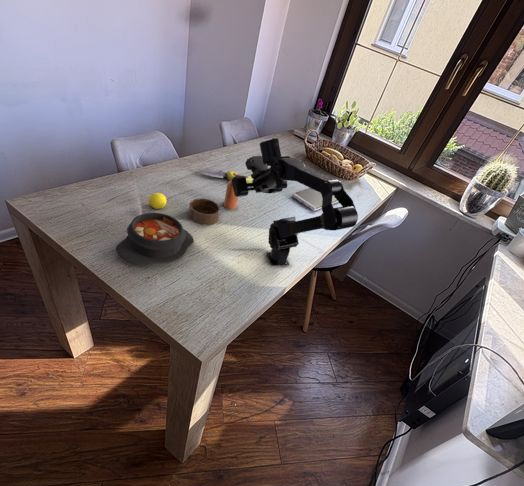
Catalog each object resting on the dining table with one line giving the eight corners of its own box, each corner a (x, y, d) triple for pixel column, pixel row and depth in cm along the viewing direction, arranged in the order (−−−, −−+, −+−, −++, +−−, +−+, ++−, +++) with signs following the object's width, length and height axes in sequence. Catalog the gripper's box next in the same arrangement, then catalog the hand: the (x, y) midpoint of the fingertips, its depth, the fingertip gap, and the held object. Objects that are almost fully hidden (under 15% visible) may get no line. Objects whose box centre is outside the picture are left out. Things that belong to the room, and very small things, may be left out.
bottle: (234, 211, 139) (240, 183, 132) (222, 208, 139) (227, 180, 131) (236, 205, 143) (242, 178, 135) (224, 202, 143) (229, 174, 135)
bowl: (221, 226, 130) (223, 215, 127) (191, 225, 126) (192, 214, 123) (214, 209, 137) (216, 198, 134) (185, 208, 133) (186, 197, 130)
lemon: (153, 213, 126) (154, 200, 122) (144, 206, 128) (144, 192, 125) (170, 209, 131) (171, 195, 127) (161, 201, 133) (161, 188, 129)
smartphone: (290, 196, 159) (292, 193, 158) (326, 185, 176) (327, 181, 174) (313, 212, 154) (315, 208, 152) (347, 198, 170) (349, 195, 169)
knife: (195, 177, 151) (253, 187, 157) (195, 171, 149) (254, 181, 155) (195, 168, 157) (252, 178, 162) (196, 162, 155) (253, 173, 160)
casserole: (167, 222, 125) (168, 200, 119) (206, 250, 119) (209, 228, 113) (102, 247, 108) (99, 223, 102) (143, 281, 102) (143, 258, 96)
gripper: (287, 151, 120) (262, 167, 133) (239, 153, 110) (217, 169, 124) (294, 185, 122) (268, 197, 135) (247, 190, 112) (224, 202, 125)
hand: (245, 191), depth 129 cm, fingers open, 9 cm apart
